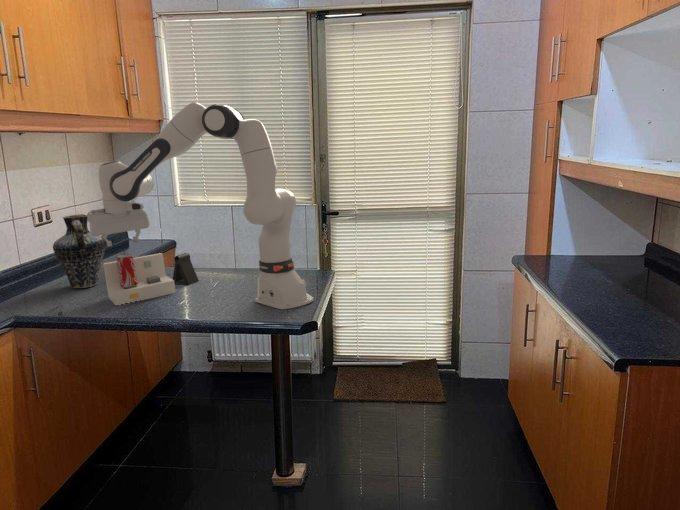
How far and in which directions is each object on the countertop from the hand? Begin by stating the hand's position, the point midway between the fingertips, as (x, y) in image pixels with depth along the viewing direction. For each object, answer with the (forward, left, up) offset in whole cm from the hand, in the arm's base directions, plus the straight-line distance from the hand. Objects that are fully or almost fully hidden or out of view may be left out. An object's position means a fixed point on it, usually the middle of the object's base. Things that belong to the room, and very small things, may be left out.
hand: (123, 243), depth 190 cm
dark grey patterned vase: (+34, +10, -22) cm, 42 cm away
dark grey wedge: (+7, -23, -22) cm, 33 cm away
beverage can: (0, 0, -17) cm, 17 cm away
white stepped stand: (+1, -4, -22) cm, 22 cm away
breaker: (0, -9, -19) cm, 21 cm away
